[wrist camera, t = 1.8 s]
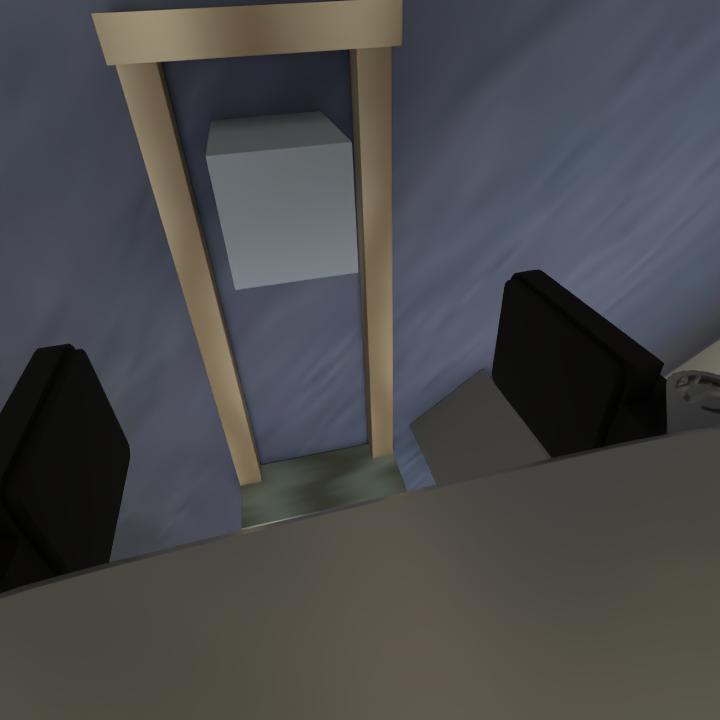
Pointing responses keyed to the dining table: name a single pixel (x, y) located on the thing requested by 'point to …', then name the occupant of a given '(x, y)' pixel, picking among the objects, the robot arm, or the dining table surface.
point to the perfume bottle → (475, 433)
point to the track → (187, 242)
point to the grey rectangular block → (284, 197)
